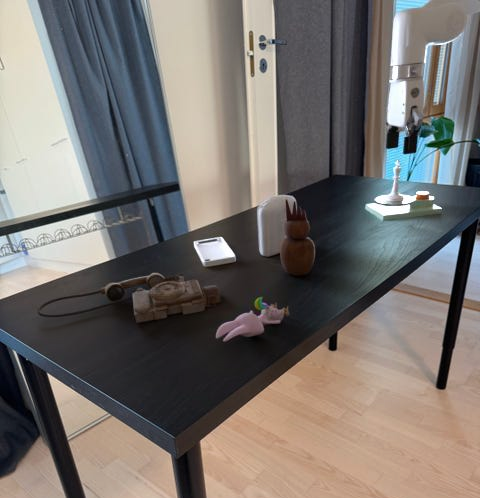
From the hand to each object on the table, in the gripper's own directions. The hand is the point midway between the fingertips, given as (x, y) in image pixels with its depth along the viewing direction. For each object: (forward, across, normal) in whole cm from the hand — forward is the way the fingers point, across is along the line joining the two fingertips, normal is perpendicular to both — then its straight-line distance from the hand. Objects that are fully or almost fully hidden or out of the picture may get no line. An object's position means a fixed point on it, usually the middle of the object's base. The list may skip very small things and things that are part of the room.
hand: (400, 150), depth 106 cm
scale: (+16, 0, -2) cm, 16 cm away
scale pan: (+13, 0, +1) cm, 13 cm away
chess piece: (+12, 0, +1) cm, 12 cm away
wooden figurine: (+15, -31, +35) cm, 49 cm away
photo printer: (+15, -17, +36) cm, 43 cm away
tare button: (+13, 0, -7) cm, 15 cm away
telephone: (+15, -36, +68) cm, 78 cm away
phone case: (+15, -14, +51) cm, 55 cm away
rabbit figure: (+15, -52, +48) cm, 72 cm away
